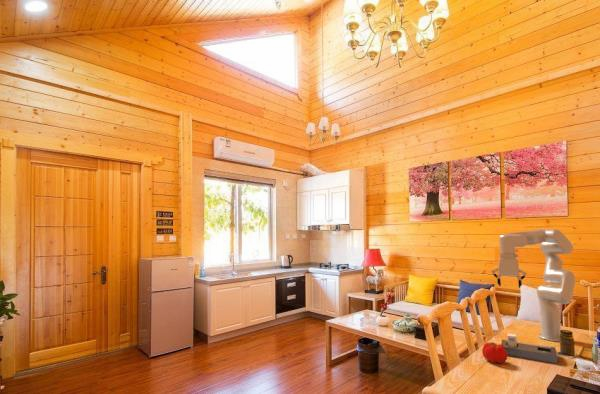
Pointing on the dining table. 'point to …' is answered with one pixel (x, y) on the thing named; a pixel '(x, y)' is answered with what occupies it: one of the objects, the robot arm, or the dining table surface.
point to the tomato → (494, 352)
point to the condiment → (566, 344)
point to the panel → (531, 352)
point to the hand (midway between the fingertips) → (509, 286)
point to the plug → (512, 340)
